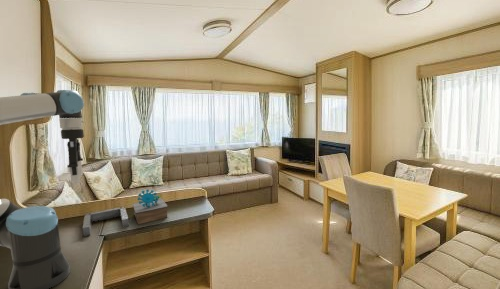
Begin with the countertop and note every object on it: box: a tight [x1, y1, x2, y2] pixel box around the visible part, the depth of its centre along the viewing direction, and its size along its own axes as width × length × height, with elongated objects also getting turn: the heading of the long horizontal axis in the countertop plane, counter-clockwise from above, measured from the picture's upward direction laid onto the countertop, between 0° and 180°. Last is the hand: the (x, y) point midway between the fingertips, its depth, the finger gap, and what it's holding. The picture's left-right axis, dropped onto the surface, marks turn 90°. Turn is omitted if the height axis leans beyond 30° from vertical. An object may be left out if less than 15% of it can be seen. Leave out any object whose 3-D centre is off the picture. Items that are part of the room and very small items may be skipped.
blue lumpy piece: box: [137, 189, 161, 207], centre depth 128 cm, size 11×6×10 cm
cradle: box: [82, 206, 130, 238], centre depth 119 cm, size 18×18×4 cm
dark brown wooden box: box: [132, 197, 169, 225], centre depth 127 cm, size 15×15×6 cm
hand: (77, 179), depth 102 cm, fingers open, 13 cm apart
